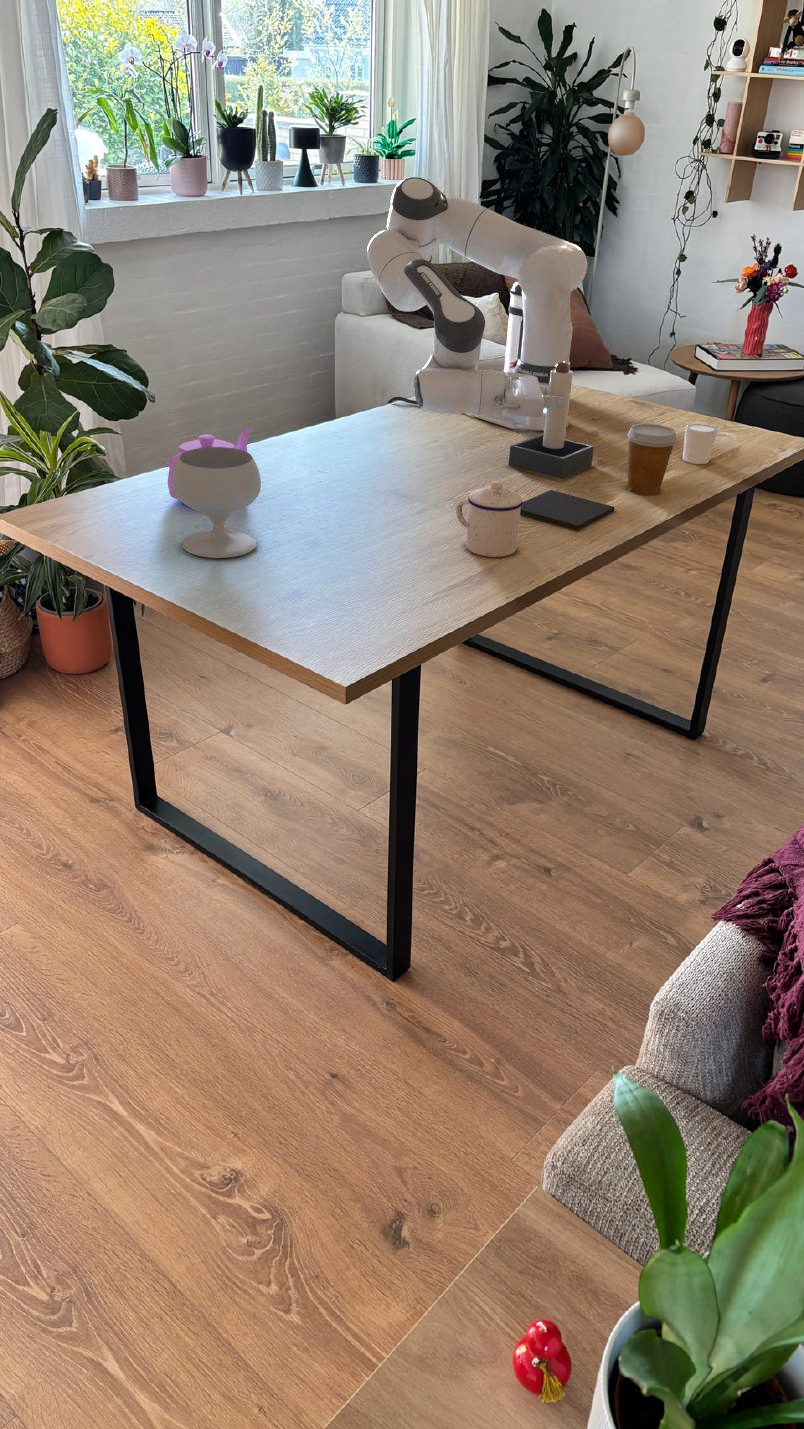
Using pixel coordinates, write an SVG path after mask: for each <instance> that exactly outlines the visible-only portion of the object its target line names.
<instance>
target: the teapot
mask: <svg viewBox="0 0 804 1429" xmlns="http://www.w3.org/2000/svg"><path fill="white" fill-rule="evenodd" d="M253 430H254V427H248V428H245V430H243V431H241V432H240V434H239V435H238V439H237V443H236V445H235V444H233V443H231V442H229V441H225V440H223V439H218V438H216V436H215V435H211V434H200V435H199V436H198V437H197V438H198V439H194V440H190V441H186V442H184V443H181V444H179V446H178V447H177V448H176V450H175V452H174V455H173V457H172V458H171V459H170V461H169V463H168V474H167V488H168V494H169V495H170V497H171V498H173V499H175V500H177V501H179V502H181V501H180V500H179V499H178V497H177V496H176V494H175V492H174V489H173V475H174V470H175V466H176V463H177V461H178V458H179V457H180V455H181V454H183V453H184V452H186V451H189V450H193V449H198V448H205V447H226V448H234V449H239V450H243V451H245V452H248V439H249V436H250V435H251V434H252V432H253Z"/></svg>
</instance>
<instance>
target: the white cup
mask: <svg viewBox="0 0 804 1429" xmlns="http://www.w3.org/2000/svg"><path fill="white" fill-rule="evenodd" d="M718 430H719V429H718V428H716V427H715V426H711V425H707V424H701V423H700V424H699V423H695V424H694V423H692V424H691V423H690V424H686V425H685V427H684V439H683V449H682V450H683V451H682V461H683V462H686V463H689V464H694V465H706V464H709V463H710V459H711V456H712V452H713V449H714V445H715V442H716V438H717V434H718Z"/></svg>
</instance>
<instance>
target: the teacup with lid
mask: <svg viewBox="0 0 804 1429" xmlns="http://www.w3.org/2000/svg"><path fill="white" fill-rule="evenodd" d="M523 502H524V501H523V498H522V496H521V495H520V494H519V493H517V492H515V491H513V490H510V489H509V488H507V487H505V486H504V483H503V481H501V480H492V481H491V482H490V485H487V486H485V487H483V488H477V489H474V490H472V491H471V492H470V493H469V494H468V498H464V499H462V500H459V501H458V502H457V504H456V508H455V509H456V510H455V515H456V519H457V520H458V522H459V524H460V525H461V526H462V527H463V528H465V529H466V538H465V546H466V548H467V550H468V551H470V553H473V554H475V555H479V556H481V557H482V556H483V557H488V558H501V557H507V556H510V555H512V554H514V553H515V552H516V551H517V549H518V540H519V528H520V520H521V515H520V510H521V506H522V504H523ZM464 505H468V511H467V512H468V514H467V520H466V519H465V517H464V514H463V506H464Z"/></svg>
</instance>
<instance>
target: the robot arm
mask: <svg viewBox="0 0 804 1429" xmlns="http://www.w3.org/2000/svg"><path fill="white" fill-rule="evenodd" d="M436 244H437V245H445V246H446V247H447V248H449V250H452V251H453V252H454V253H457V254H458V255H460V256H462V257H464V258H465V259H467V260H469V261H471V262H474V263H475V264H478V265H480V266H481V267H484V268H485V269H487V270H489V271H492V272H494V273H495V274H498V275H503V276H506V277H510V278H513V279H516V280H519V284H520V287H521V289H522V305H523V320H524V326H523V338H522V349H521V358H520V359H518V360H516V361H515V362H512V363H510V364H512V365H511V366H510V368H512V367H514V371H513V373H512V372H504V369H503V368H493V369H488V370H487V369H479V364H480V357H481V349H482V341H483V337H484V332H485V328H486V319H485V315H484V314H483V311H482V310H481V309H480V308H479V307H478V306H477V305H476V304H474V303H473V302H472V301H470V300H468V299H466V298H465V297H464V296H463V295H462V294H461V293H459V291H458V290H457V289H456V288H455V287H454V286H453V285H452V283H451V282H450V281H449V280H448V279H447V278H446V277H445V275H444V274H443V273H442V271H440V270H439V268H437V266H436V265H434V264H433V263H432V261H433V252H434V250H435V245H436ZM366 258H367V262H368V265H369V268H370V270H371V273H372V275H373V278H374V280H375V282H376V283H377V286H378V287H379V289H380V291H381V292H382V293H383V296H384V297H385V298H386V300H387V301H388V302H389V303H390V305H391V306H393V307H394V308H395V309H397V310H398V311H402V312H415V311H418V310H420V309H421V308H422V309H423V307H425V306H427V307H428V309H429V310H430V311H431V313H432V315H433V346H432V354H431V355H430V357H429V359H428V361H427V363H426V364H425V365H424V366H423V367H422V368H421V369H418V370H417V371H416V372H415V374H414V381H413V382H414V386H413V387H414V396H415V400H414V399H410V398H406V397H403V396H394V397H392V398H389V399H388V400H387V402H386V403H387V404H392V403H393V402H396V401H400V402H404V403H408V404H411V405H417V406H418V407H419V408H420V409H422V410H423V411H424V410H425V411H427V412H431V413H437V414H444V415H460V414H472V415H474V417H475V418H476V419H481V420H482V421H486V422H490V423H492V424H496V425H499V426H501V427H505V428H508V429H511V430H528V431H539V432H540V431H541V432H542V431H543V432H544V427H545V418H546V409H547V407H553V406H564V405H565V397H564V396H563V395H556V396H548V391H549V382H550V373H551V370H552V369H555V367H556V365H557V364H558V363H559V362H565V363H567V364H568V366H569V370H571V362H570V355H571V348H572V338H573V330H574V328H573V323H572V315H571V294H572V292H573V291H575V290H576V289H577V288H579V286H580V285H581V284H582V282H583V281H584V279H585V277H586V274H587V271H588V259H587V256H586V254H585V252H584V250H582V248H581V247H579V246H578V245H577V244H574V243H572V242H569V241H566V240H564V239H561V238H559V237H556V236H554V235H552V234H549V233H547V232H543V231H541V230H538V229H535V228H533V227H529V226H526V225H523V224H521V223H518V222H517V221H514V220H512V219H510V218H508V217H506V216H504V215H502V214H500V213H498V212H496V211H493V210H491V209H489V208H487V207H485V206H483V205H480V204H478V203H476V202H472V201H470V200H467V199H463V198H459V197H453V196H449V197H446V195H445V194H444V192H442V190H440V189H439V188H438V187H437V186H436V185H435V184H434V183H432V182H431V181H429V180H428V179H425V178H422V177H417V176H411V177H407V178H405V179H402V180H400V181H399V182H398V183H397V184H396V185H395V187H394V189H393V192H392V195H391V198H390V208H389V212H388V217H387V223H386V229H384V230H382V231H379V232H378V233H376V234H375V235H374V236H373V237H372V238H371V239H370V241H369V243H368V245H367V249H366ZM568 427H569V418H568V417H567V426H566V428H568Z"/></svg>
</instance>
